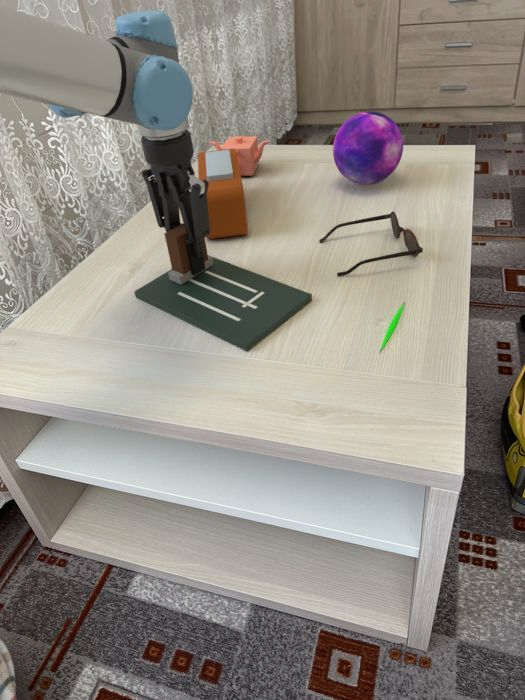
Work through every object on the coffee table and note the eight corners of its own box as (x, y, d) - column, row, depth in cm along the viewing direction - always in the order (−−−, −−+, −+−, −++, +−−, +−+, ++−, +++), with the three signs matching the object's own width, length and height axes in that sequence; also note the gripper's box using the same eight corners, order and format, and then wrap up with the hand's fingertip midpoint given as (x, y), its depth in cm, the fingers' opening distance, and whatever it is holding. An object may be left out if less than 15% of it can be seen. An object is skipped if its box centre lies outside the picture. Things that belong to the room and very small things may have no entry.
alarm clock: (248, 237, 109) (242, 182, 101) (206, 242, 108) (197, 187, 101) (240, 189, 127) (234, 140, 120) (204, 194, 127) (196, 144, 120)
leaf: (407, 303, 87) (407, 299, 87) (381, 356, 78) (382, 352, 77) (401, 302, 88) (402, 298, 87) (375, 355, 78) (375, 351, 78)
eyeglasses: (421, 264, 95) (424, 238, 92) (338, 279, 94) (339, 253, 91) (390, 228, 107) (392, 203, 104) (316, 240, 105) (316, 216, 102)
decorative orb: (346, 200, 118) (346, 128, 109) (324, 175, 130) (323, 109, 120) (411, 188, 120) (418, 117, 110) (384, 165, 131) (388, 98, 122)
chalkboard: (135, 297, 95) (133, 291, 94) (201, 257, 104) (200, 251, 103) (247, 351, 81) (246, 344, 80) (312, 300, 90) (311, 293, 89)
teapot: (267, 180, 130) (264, 145, 125) (206, 181, 133) (201, 146, 128) (276, 162, 139) (274, 128, 134) (219, 162, 142) (214, 129, 137)
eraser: (181, 284, 94) (171, 240, 89) (169, 279, 96) (159, 235, 91) (213, 264, 99) (206, 221, 94) (201, 260, 100) (194, 217, 95)
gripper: (221, 132, 80) (239, 271, 95) (149, 118, 89) (175, 247, 103) (183, 149, 76) (208, 292, 91) (112, 132, 84) (145, 265, 99)
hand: (191, 268), depth 97 cm, fingers closed on eraser, 3 cm apart
